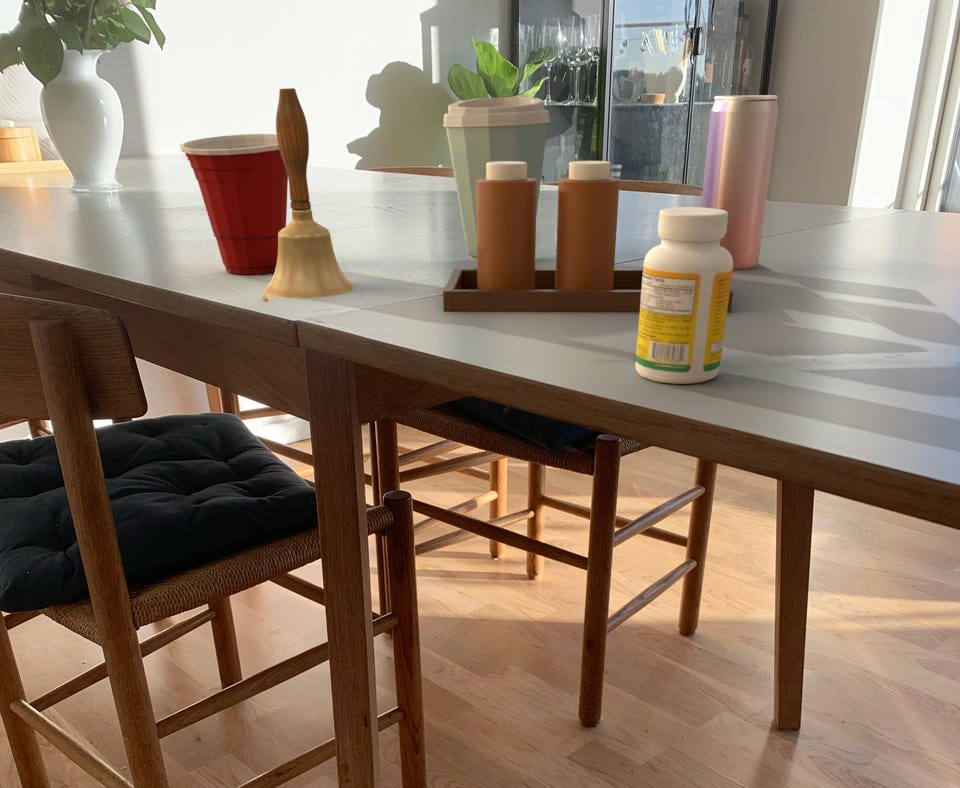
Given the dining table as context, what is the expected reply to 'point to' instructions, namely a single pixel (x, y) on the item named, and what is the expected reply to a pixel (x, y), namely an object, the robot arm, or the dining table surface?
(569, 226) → the amber bottle
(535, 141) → the disposable coffee cup
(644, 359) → the supplement bottle
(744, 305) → the dining table surface
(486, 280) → the far amber bottle
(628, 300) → the tray
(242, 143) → the plastic cup
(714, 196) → the beverage can
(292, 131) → the hand bell
